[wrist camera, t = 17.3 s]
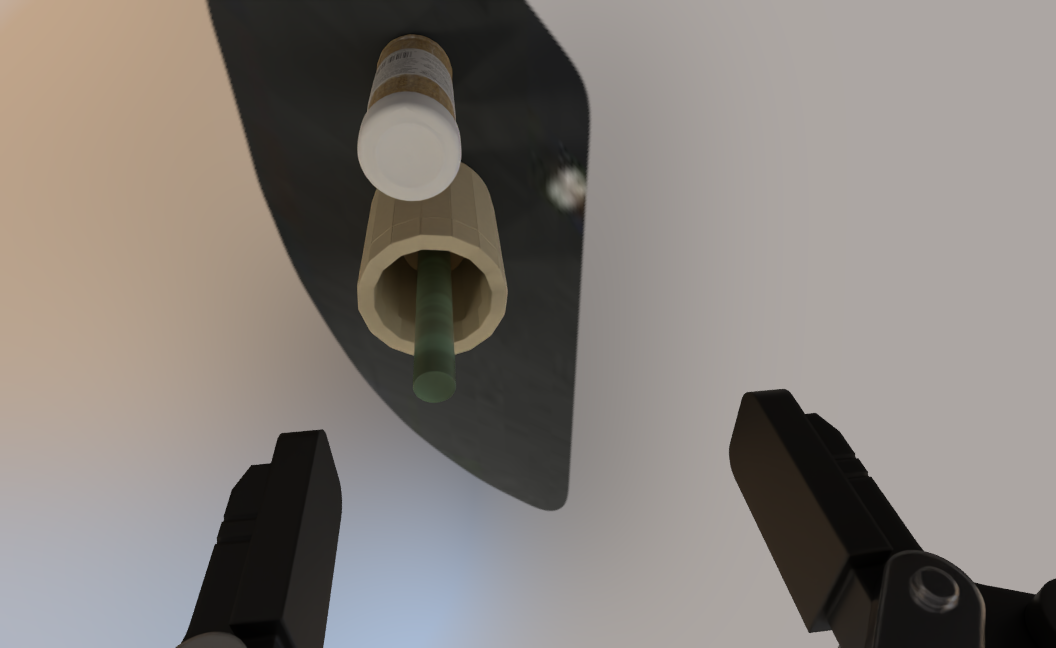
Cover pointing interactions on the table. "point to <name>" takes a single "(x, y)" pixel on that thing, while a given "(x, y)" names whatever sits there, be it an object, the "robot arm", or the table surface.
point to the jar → (433, 224)
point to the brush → (434, 324)
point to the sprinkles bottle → (411, 122)
